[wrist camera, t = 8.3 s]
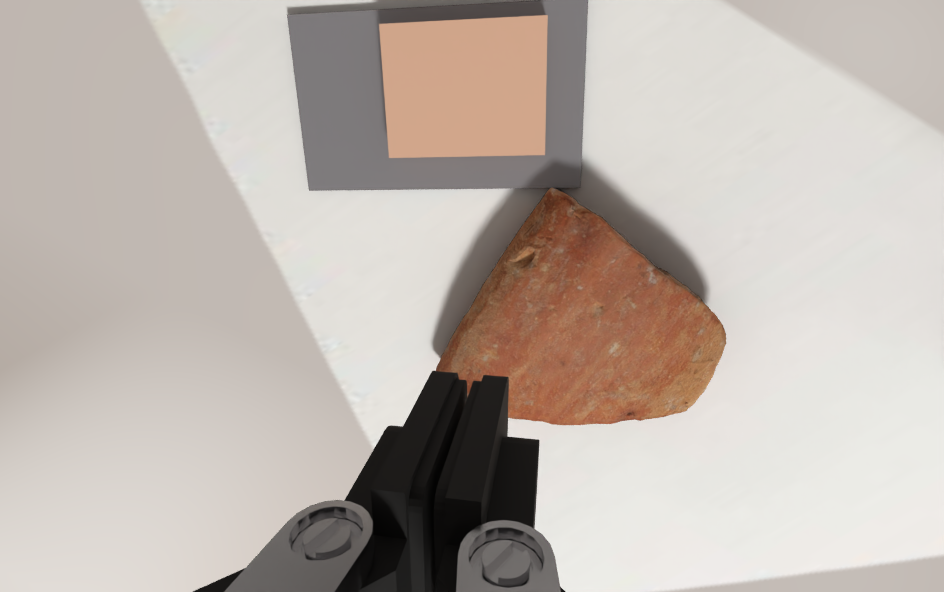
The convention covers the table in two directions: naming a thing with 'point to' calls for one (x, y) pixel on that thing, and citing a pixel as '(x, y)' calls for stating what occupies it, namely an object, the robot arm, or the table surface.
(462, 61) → the tile
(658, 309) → the ceramic shard
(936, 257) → the table surface
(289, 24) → the mat
